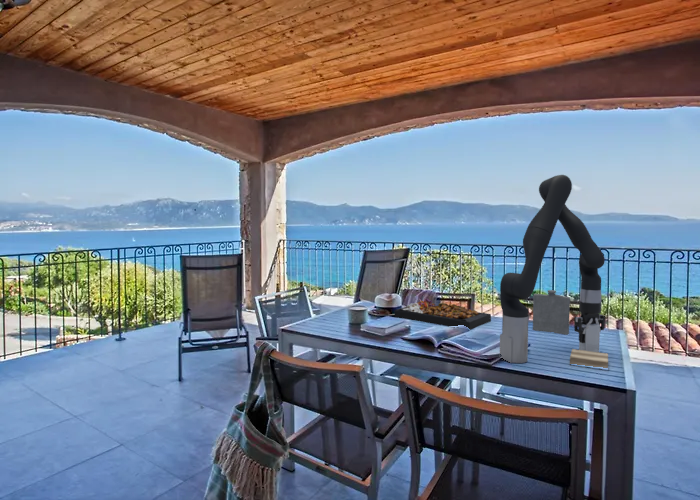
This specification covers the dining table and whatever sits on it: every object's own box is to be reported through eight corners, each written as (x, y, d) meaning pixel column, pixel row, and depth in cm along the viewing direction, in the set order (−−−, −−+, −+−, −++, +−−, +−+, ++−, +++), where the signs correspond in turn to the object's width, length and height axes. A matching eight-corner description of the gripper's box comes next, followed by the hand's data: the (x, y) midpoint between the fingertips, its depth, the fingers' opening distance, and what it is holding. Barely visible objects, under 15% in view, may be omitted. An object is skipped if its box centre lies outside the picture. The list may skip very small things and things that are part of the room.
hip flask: (531, 330, 208) (532, 289, 207) (533, 328, 212) (534, 288, 210) (568, 335, 199) (569, 292, 198) (569, 333, 202) (570, 291, 201)
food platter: (394, 317, 239) (394, 299, 238) (418, 310, 257) (418, 293, 256) (469, 331, 209) (469, 310, 208) (490, 322, 227) (491, 303, 227)
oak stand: (607, 370, 151) (608, 362, 151) (569, 365, 157) (570, 357, 157) (607, 361, 161) (607, 353, 161) (571, 356, 168) (572, 348, 167)
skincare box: (592, 351, 174) (593, 322, 173) (599, 354, 169) (600, 324, 168) (577, 352, 173) (578, 322, 172) (585, 355, 169) (586, 325, 168)
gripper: (595, 297, 176) (594, 337, 177) (568, 300, 171) (567, 341, 172) (612, 301, 169) (610, 342, 170) (584, 303, 164) (583, 346, 165)
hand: (589, 341), depth 171 cm, fingers closed on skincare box, 6 cm apart
